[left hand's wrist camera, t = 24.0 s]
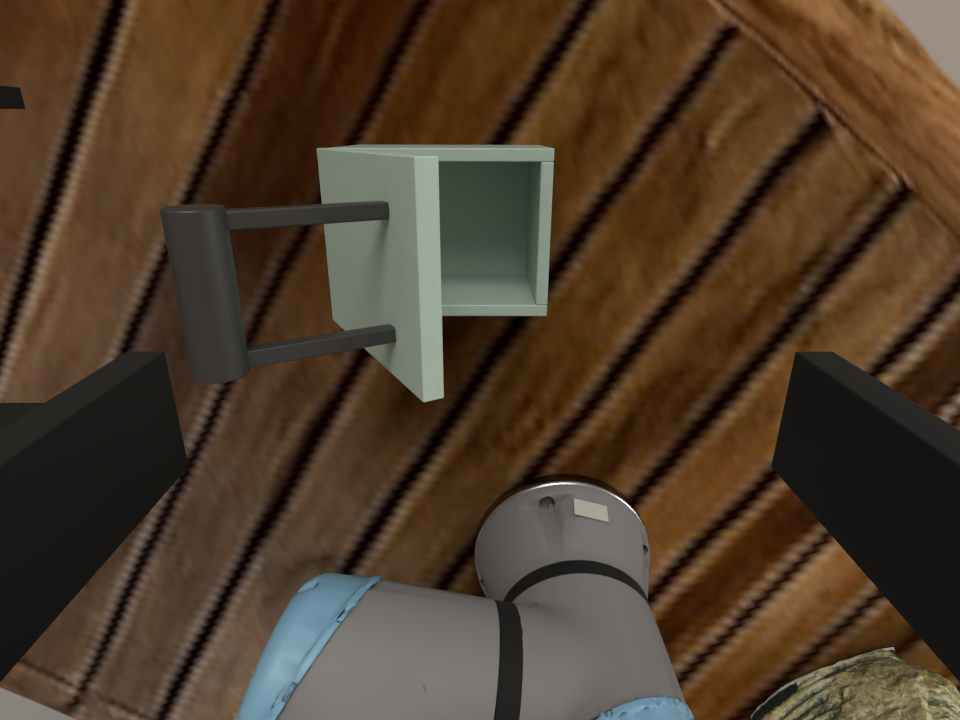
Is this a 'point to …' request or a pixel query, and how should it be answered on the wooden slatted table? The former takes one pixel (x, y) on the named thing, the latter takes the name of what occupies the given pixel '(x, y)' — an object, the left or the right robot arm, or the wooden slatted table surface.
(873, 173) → the wooden slatted table surface
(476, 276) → the chest
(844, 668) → the fossil
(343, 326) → the lid
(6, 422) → the right robot arm
